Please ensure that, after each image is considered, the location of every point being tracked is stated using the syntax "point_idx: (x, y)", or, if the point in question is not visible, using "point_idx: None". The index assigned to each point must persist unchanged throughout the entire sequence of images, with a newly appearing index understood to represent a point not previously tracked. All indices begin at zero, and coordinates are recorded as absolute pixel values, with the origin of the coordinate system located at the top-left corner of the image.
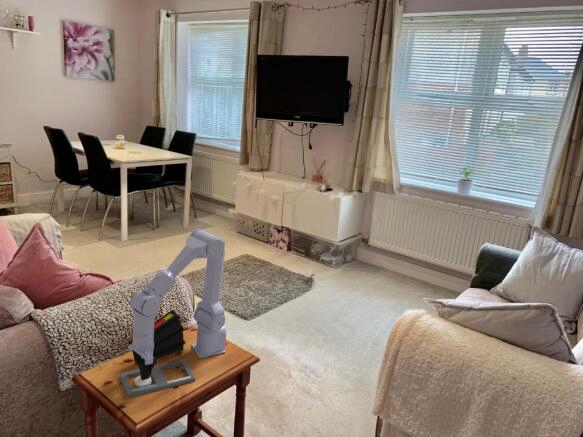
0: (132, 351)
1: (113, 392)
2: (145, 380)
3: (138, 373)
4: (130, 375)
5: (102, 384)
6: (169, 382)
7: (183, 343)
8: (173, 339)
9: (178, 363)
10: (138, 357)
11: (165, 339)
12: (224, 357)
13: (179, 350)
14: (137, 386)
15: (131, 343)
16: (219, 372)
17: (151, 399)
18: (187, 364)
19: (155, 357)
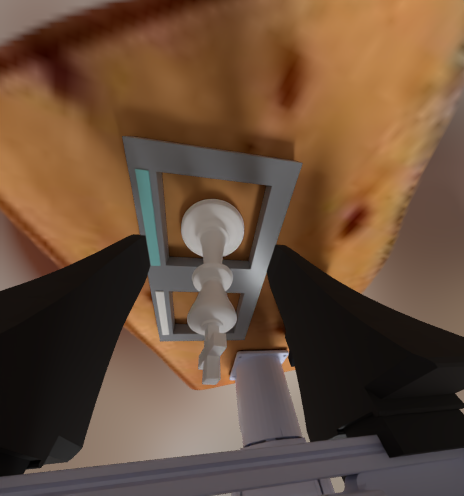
0: (346, 288)
1: (197, 76)
2: (197, 240)
3: (258, 231)
4: (265, 201)
5: (295, 33)
6: (158, 296)
7: (290, 359)
8: None
9: (235, 327)
10: (286, 283)
11: None
12: None
13: (286, 334)
14: (194, 204)
15: (444, 377)
16: (175, 362)
17: (102, 224)
18: None
19: (50, 462)
